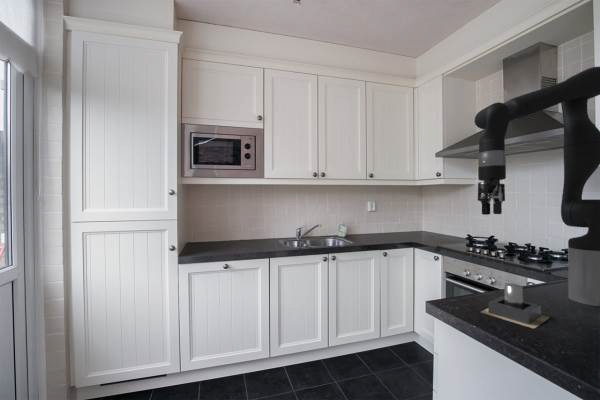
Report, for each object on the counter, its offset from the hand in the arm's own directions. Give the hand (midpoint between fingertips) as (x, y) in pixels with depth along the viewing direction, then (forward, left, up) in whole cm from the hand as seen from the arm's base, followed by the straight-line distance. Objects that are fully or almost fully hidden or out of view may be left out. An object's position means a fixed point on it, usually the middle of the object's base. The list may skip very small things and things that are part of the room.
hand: (491, 214), depth 90 cm
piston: (+12, +10, -27) cm, 31 cm away
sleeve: (+12, +10, -27) cm, 31 cm away
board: (+12, +10, -28) cm, 32 cm away
